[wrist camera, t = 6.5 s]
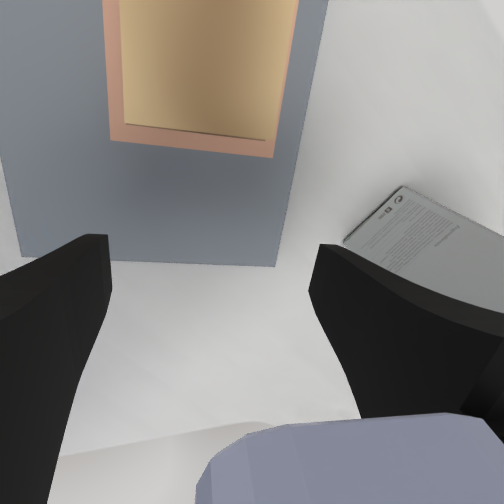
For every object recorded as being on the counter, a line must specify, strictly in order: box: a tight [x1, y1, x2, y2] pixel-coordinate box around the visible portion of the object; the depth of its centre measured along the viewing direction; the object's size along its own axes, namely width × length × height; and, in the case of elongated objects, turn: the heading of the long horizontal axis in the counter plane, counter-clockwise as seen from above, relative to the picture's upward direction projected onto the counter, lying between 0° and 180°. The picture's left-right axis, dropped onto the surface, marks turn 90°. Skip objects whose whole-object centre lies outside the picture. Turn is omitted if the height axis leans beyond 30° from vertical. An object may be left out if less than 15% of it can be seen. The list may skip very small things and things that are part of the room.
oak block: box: [119, 0, 296, 141], centre depth 11 cm, size 4×4×4 cm
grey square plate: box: [0, 0, 328, 267], centre depth 18 cm, size 16×16×1 cm
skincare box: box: [344, 187, 504, 313], centre depth 18 cm, size 8×6×15 cm
